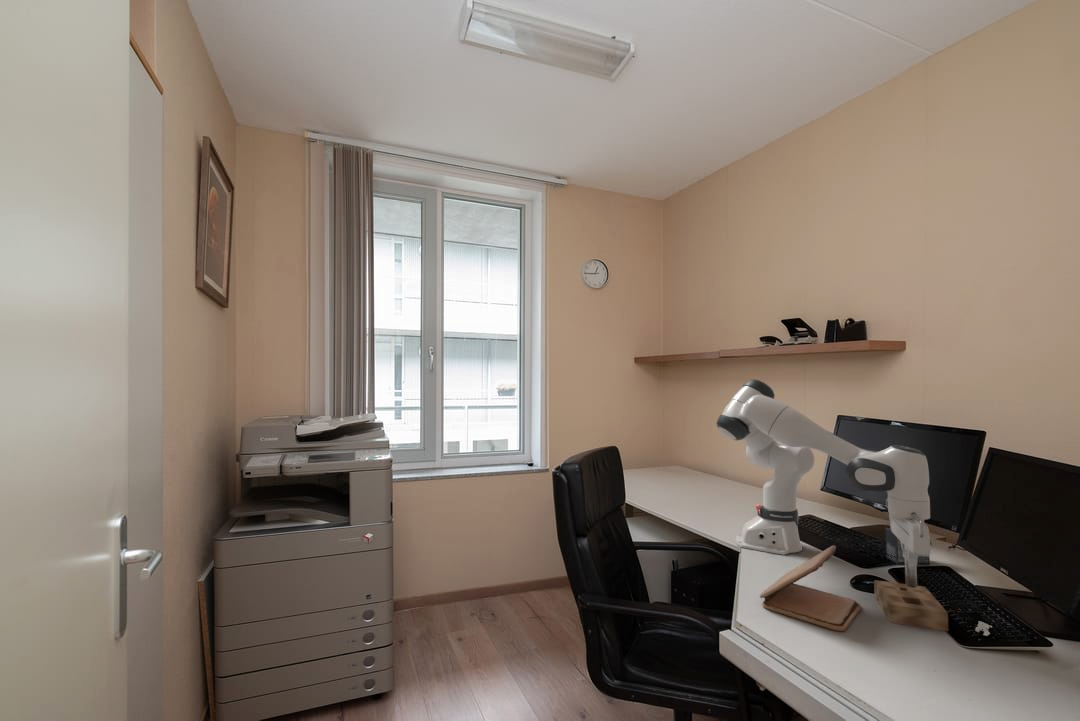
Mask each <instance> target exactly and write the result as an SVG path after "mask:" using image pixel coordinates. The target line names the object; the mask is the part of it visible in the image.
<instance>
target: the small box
mask: <svg viewBox="0 0 1080 721" xmlns="http://www.w3.org/2000/svg"><path fill="white" fill-rule="evenodd" d="M885 544H886V545H885V546H886V558H887V559H889V560H890V561H892V562H893V563H895V564H897V565H905V558H904V557H903V551H902V547H901V541H900V540H899V539H898V538H897V537H896V536H895V535H894V533H893V532H892V530H891V527H885ZM887 554H888V555H889V556H888V555H887ZM890 556H891V557H892V558H891V557H890ZM917 565H924V566H925V565H928V566H929V565H931V561H930V556H928V557H927V556H918V559H917Z"/></svg>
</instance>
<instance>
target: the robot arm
mask: <svg viewBox="0 0 1080 721" xmlns="http://www.w3.org/2000/svg"><path fill="white" fill-rule="evenodd" d="M775 396H776V395H775V393H774V390H773V389H772V387H770V386H769V385H768V384H767V383H765V382H763V381H761V380H759V379H749V380H748V381H746V382H745V383H744V384H743V385H742V387H741V388H740V389H739V390H738V391H737V392H736V393H735V394H734V395H733V397H732V398H731V399H730V401H729V403H727V404H726V406H725V408H724V409H723V411H722V414H720V415H719V416H718V419H717V420H716V427H717V428H718V430H719V431H720V432H721V434H722V435H723V436H725V437H726V438H729V439H730V440H733V441H743V443H744V444H745V445H746V448H745V455H746V459H747V460H748V462H749V463H751V464H753V465H756V466H758V467H760V468H763V469H769V470H774V473H773V478H772V479H770V480H768V481H766V482H765V483H764V484H763V486H762V497H763V498H762V500H763V501H762V503H763V504H762V505H761V504H756V506H755V508H756V511H757V512H756V513H757V515H756V516H755V517H753V518H751V519H749V520H748V521H746V522H745V523H744V525H743V527H742V530H741V533H739V534H737V535H736V537H735V543H736V545H737V546H739V548H740V547H741V548H745V549H749V550H755V551H760V552H761V551H762V552H767V553H771V554H778V555H783V556H784V555H788V554H794V553H799V552H801V551H802V550H803V547H802V544H801V540H800V535H799V530H798V528H799V527H798V525H799V512H798V511H799V510H798V508H797V490H798V486H799V483H800V480H801V479H802V478H803V477H804V476H805V475H806V474H807V473H809V472H810V471H811V470H812V469H813V468H814V465H815V455H814V453H813V451H812V449H813V450H816V451H817V450H818V451H820V452H822V453H823V454H826V455H828V456H830V457H832V458H833V459H835V460H837V461H839V462H841V463H842V464H844V465H846V468H845V476H846V479H847V481H848V482H849V484H850V485H852V487H853V488H855V489H857V490H859V491H862V492H867V493H873V492H874V493H875V492H877V493H878V492H879V493H880V492H886V493H887V498H886V500H885V506H886V508H887V511H888V518H889V526H890V527H889V528H891V530H892V532H893V533H894V535H895V536H896V537H897V538H898V539H899V540H900V541H901V547H902V551H903V557H904V558H905V553H904V545H905V546H906V547H907V548H908V556H907V562H908V563H909V564H910V565H914V566H916V567H917V566H918V564H917V559H918V556H927V557H928V556H929V557H930V555H931V553H932V552H931V551H932V547H931V536H930V530H929V527H928V525H927V524H926V523H925V521H926V520H930V519H931V500H930V499H931V498H930V495H929V493H928V489H929V486H930V471H929V465H928V463H929V462H928V459H927V456H926V454H924V453H923V452H922V450H919V449H917V448H915V447H910V446H907V445H900V444H899V445H898V444H894V445H890V446H889V447H887V448H885V449H882V450H880V451H878V450H874V449H869V448H867V449H866V448H863V447H861V446H858V445H856V444H854V443H852V442H849V441H847V440H846V439H844V438H842V437H839V436H838V435H836V434H834V433H833V432H830V431H829V430H827V429H825V428H823V427H822V426H820V425H819V424H818V423H816V422H814V421H813V420H811V419H810V418H808V417H807V416H805V415H804V414H803V413H801V412H800V411H798V410H797V409H795V408H793V407H791V406H789V405H787V404H786V403H784V402H782V401H779V400H777V399H775Z"/></svg>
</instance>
